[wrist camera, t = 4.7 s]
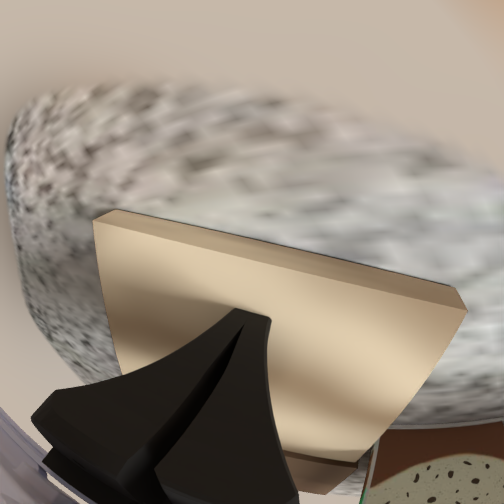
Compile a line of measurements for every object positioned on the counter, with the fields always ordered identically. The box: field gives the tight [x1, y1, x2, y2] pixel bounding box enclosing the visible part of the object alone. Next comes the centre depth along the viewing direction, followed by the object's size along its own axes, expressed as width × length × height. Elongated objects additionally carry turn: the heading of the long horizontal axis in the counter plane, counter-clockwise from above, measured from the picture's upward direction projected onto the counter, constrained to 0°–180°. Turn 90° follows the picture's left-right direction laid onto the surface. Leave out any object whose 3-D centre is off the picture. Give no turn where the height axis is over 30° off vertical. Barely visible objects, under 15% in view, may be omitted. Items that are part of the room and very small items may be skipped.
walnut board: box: [283, 450, 359, 495], centre depth 16 cm, size 15×6×2 cm, turn 84°
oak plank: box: [93, 209, 468, 462], centre depth 12 cm, size 11×14×2 cm
